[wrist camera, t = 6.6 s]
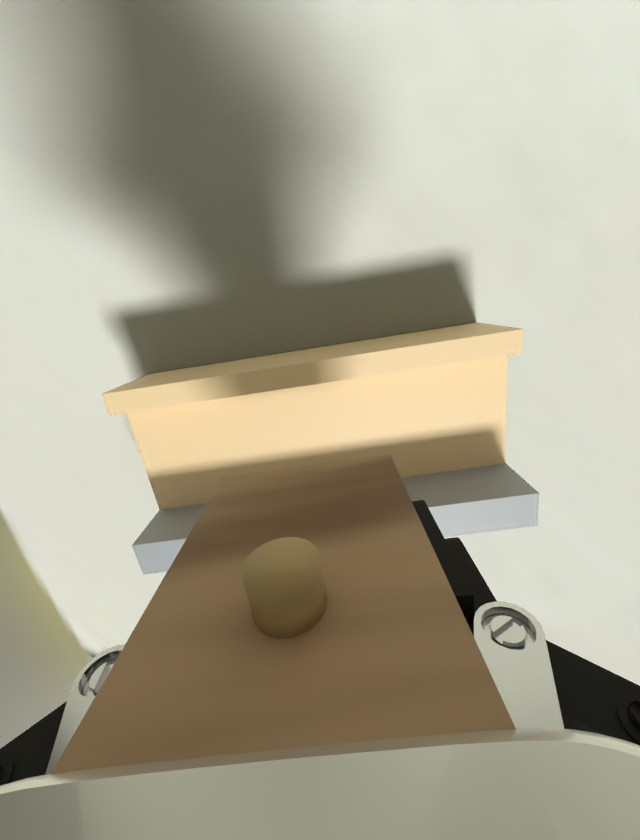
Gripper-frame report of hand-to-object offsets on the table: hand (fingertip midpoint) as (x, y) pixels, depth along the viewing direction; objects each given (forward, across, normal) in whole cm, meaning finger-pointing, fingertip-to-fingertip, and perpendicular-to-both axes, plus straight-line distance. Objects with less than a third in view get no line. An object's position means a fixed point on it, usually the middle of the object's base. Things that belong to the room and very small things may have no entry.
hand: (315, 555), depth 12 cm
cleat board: (+14, 0, 0) cm, 14 cm away
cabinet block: (+2, 0, 0) cm, 2 cm away
